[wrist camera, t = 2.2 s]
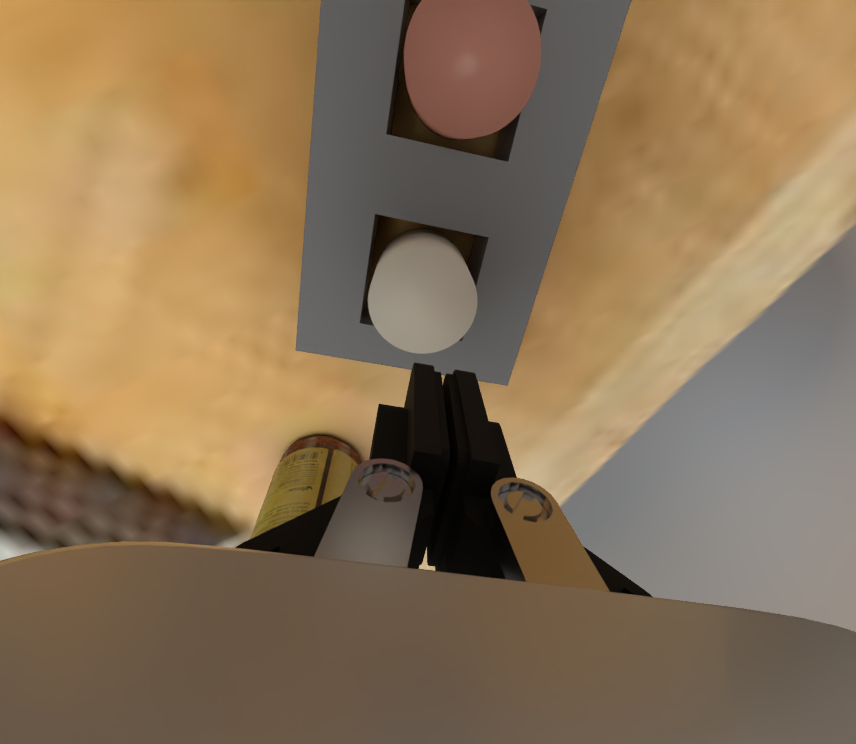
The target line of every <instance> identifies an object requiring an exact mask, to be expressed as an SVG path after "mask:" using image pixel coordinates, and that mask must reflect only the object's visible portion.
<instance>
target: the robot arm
mask: <svg viewBox="0 0 856 744" xmlns="http://www.w3.org/2000/svg"><path fill="white" fill-rule="evenodd" d="M426 547H427V562H428V565H429V566H435V571H432V570H423V569H418V568H419V565H421V564H422V562H423V558H424V554H425V551H426ZM0 744H856V632H854V631H851V630H848V629H845V628H842V627H839V626H834V625H830V624H826V623H822V622H817V621H813V620H809V619H805V618H799V617H794V616H787V615H781V614H775V613H769V612H762V611H756V610H750V609H743V608H735V607H727V606H719V605H712V604H704V603H696V602H688V601H680V600H671V599H664V598H655V597H652V596H651V595H650V594H649V593H647V592H646V591H645V590H644V589H642V588H641V587H639V586H638V585H637V584H635V583H634V582H632V581H631V580H629V579H628V578H627V577H625V576H624V575H623V574H621V573H620V572H618V571H617V570H616V569H614V568H613V567H611V566H610V565H609V564H607V563H606V562H604V561H603V560H602V559H600V558H599V557H597V556H596V555H595V554H593V553H592V552H591V551H589V550H588V549H586V548H585V547H583V546H582V544H581V542H580V540H579V539H578V537H577V535H576V534H575V532H574V530H573V529H572V527H571V525H570V523H569V522H568V520H567V519H566V517H565V515H564V514H563V512H562V510H561V508H560V507H559V505H558V503H557V502H556V500H555V499H554V498H553V497H552V495H551V494H550V493H548V492H547V491H546V490H545V489H544V488H542V487H540V486H539V485H537V484H535V483H533V482H530V481H528V480H525V479H520V478H517V477H516V474H515V471H514V467H513V464H512V461H511V458H510V455H509V452H508V448H507V445H506V442H505V439H504V436H503V432H502V429H501V426H500V424H499V423H496V422H489V421H488V418H487V414H486V410H485V407H484V403H483V399H482V396H481V392H480V389H479V385H478V381H477V378H476V374H475V373H473V372H467V371H462V370H456V369H455V370H454V372H453V374H448V373H446V375H445V378H444V382H443V386H442V377H441V372H436V371H435V370H434V366H433V365H427V364H421V363H415V362H414V364H413V367H412V372H411V377H410V382H409V387H408V391H407V396H406V401H405V406H404V408H402V407H396V406H389V405H383V404H379V406H378V412H377V417H376V423H375V429H374V435H373V440H372V446H371V453H370V459H369V460H368V461H365V462H363V463H361V464H360V465H358V466H356V468H355V469H354V470H353V472H352V473H351V475H350V478H349V480H348V482H347V484H346V487H345V489H344V491H343V493H342V495H341V496H339V497H337V498H335V499H333V500H331V501H329V502H327V503H325V504H322V505H320V506H318V507H316V508H314V509H312V510H310V511H308V512H306V513H304V514H302V515H300V516H298V517H295V518H293V519H291V520H289V521H287V522H285V523H283V524H281V525H279V526H277V527H275V528H273V529H271V530H269V531H266V532H264V533H262V534H260V535H258V536H256V537H254V538H252V539H250V540H248V541H246V542H244V543H242V544H240V545H239V546H237V547H236V548H230V547H218V546H206V545H194V544H181V543H169V542H112V543H97V544H83V545H76V546H70V547H64V548H58V549H51V550H45V551H39V552H33V553H29V554H25V555H21V556H17V557H13V558H9V559H5V560H2V561H0Z"/></svg>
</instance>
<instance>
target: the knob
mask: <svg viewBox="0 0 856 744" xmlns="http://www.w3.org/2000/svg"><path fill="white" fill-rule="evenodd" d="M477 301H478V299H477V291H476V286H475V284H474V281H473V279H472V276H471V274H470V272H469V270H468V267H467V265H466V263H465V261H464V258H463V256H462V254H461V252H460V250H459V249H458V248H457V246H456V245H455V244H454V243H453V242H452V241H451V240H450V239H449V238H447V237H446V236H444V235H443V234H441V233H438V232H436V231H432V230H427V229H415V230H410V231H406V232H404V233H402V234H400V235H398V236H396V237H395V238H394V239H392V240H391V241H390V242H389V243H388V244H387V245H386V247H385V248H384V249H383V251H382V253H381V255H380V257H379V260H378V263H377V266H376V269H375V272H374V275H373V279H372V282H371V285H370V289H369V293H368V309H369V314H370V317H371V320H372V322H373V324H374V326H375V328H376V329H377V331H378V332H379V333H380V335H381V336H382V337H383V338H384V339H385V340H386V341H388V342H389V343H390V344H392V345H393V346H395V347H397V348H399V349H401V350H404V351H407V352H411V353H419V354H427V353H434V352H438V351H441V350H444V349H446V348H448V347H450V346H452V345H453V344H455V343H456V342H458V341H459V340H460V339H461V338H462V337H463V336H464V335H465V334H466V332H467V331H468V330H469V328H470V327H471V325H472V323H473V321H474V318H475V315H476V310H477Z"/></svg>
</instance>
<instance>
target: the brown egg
mask: <svg viewBox="0 0 856 744" xmlns="http://www.w3.org/2000/svg"><path fill="white" fill-rule="evenodd" d="M540 65H541V37H540V31H539V26H538V22H537V19H536V17H535V14H534V11H533V10H532V8H531V6H530V4H529V2H528V0H421V2H420V3H419V5H418V7H417V8H416V10H415V12H414V14H413V16H412V18H411V21H410V24H409V27H408V30H407V34H406V39H405V45H404V69H405V78H406V86H407V93H408V97H409V100H410V103H411V106H412V108H413V110H414V112H415V114H416V115H417V117H418V118H419V120H420V121H421V122H422V123H423V124H424V125H425V126H426V127H427V128H428V129H429V130H430V131H432V132H433V133H435V134H437V135H439V136H441V137H444V138H447V139H453V140H464V139H470V138H476V137H482V136H486V135H489V134H492V133H494V132H496V131H498V130H500V129H501V128H503V127H505V126H506V125H507V124H509V123H510V122H511V121H512V120H513V119H514V118H515V117H516V116H517V115H518V114H519V113H520V112H521V110H522V109H523V108H524V106H525V105H526V103H527V102H528V100H529V98H530V97H531V94H532V92H533V90H534V88H535V85H536V82H537V79H538V75H539V70H540Z"/></svg>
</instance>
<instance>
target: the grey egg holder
mask: <svg viewBox="0 0 856 744" xmlns="http://www.w3.org/2000/svg"><path fill="white" fill-rule="evenodd" d="M410 2H411V3H414V4H418V5H419V3H420V2H421V0H321V9H320V23H319V37H318V50H317V64H316V78H315V92H314V105H313V119H312V133H311V147H310V160H309V174H308V188H307V201H306V215H305V229H304V243H303V256H302V270H301V284H300V298H299V311H298V325H297V339H296V351H302V352H308V353H314V354H320V355H326V356H332V357H338V358H344V359H350V360H356V361H362V362H368V363H374V364H380V365H386V366H392V367H398V368H404V369H410V370H412V367H413V364H414V362H415V363H421V364H427V365H433V366H434V370H435V371H436V372H441V375H446V373H448V374H453V372H454V370H455V369H456V370H462V371H467V372H473V373H475V374H476V378H477V381H482V382H488V383H494V384H500V385H506V386H507V385H508V382H509V379H510V376H511V373H512V370H513V367H514V364H515V361H516V357H517V354H518V351H519V348H520V345H521V342H522V339H523V336H524V333H525V329H526V326H527V323H528V320H529V317H530V314H531V311H532V308H533V305H534V301H535V298H536V295H537V292H538V289H539V286H540V283H541V280H542V277H543V273H544V270H545V267H546V264H547V261H548V258H549V255H550V252H551V249H552V245H553V242H554V239H555V236H556V233H557V230H558V227H559V224H560V221H561V217H562V214H563V211H564V208H565V205H566V202H567V199H568V196H569V193H570V189H571V186H572V183H573V180H574V177H575V174H576V171H577V168H578V165H579V161H580V158H581V155H582V152H583V149H584V146H585V143H586V140H587V137H588V133H589V130H590V127H591V124H592V121H593V118H594V115H595V112H596V109H597V105H598V102H599V99H600V96H601V93H602V90H603V87H604V84H605V81H606V77H607V74H608V71H609V68H610V65H611V62H612V59H613V56H614V53H615V49H616V46H617V43H618V40H619V37H620V34H621V31H622V28H623V25H624V21H625V18H626V15H627V12H628V9H629V6H630V3H631V0H528V2H529V4H530V6H531V8H532V10H533V11H534V14H535V17H536V19H537V22H538V26H539V31H540V37H541V65H540V70H539V75H538V79H537V82H536V85H535V88H534V90H533V92H532V94H531V97H530V98H529V100H528V102H527V103H526V105H525V106H524V108H523V109H522V110H521V112H520V113H519V114H518V115H517V116H516V117H515V118H514V119H513V120H512V121H511V122H510V123H509V124H507V125H506V126H505V127H503V128H502V129H501V133H500V137H499V141H498V145H497V149H496V153H495V157H494V159H493V158H489V157H485V156H480V155H476V154H471V153H467V152H463V151H458V150H454V149H449V148H445V147H441V146H436V145H432V144H427V143H423V142H419V141H414V140H410V139H406V138H401V137H397V136H392V135H391V129H392V122H393V115H394V108H395V101H396V94H397V87H398V80H399V73H400V66H401V59H402V52H403V45H404V38H405V32H406V25H407V18H408V11H409V4H410ZM379 215H382V216H387V217H392V218H397V219H402V220H406V221H411V222H416V223H421V224H426V225H431V226H436V227H440V228H445V229H450V230H455V231H460V232H465V233H470V234H474V235H476V236H475V240H474V244H473V248H472V252H471V256H470V261H469V265H468V270H469V272H470V274H471V276H472V279H473V281H474V284H475V286H476V291H477V299H478V301H477V310H476V315H475V318H474V321H473V323H472V325H471V327H470V328H469V330H468V331H467V332H466V334H465V335H464V336H463V337H462V338H461V339H460V340H459V341H458V342H456V343H455V344H453V345H452V346H450V347H448V348H446V349H444V350H441V351H438V352H434V353H427V354H419V353H411V352H407V351H404V350H401V349H399V348H397V347H395V346H393V345H392V344H390V343H389V342H388V341H386V340H385V339H384V338H383V337H382V336H381V335H380V333H379V332H378V331H377V329H376V328H375V326H374V324H373V322H372V320H371V317H370V314H369V309H368V300H367V295H368V288H369V281H370V274H371V268H372V261H373V254H374V247H375V240H376V233H377V226H378V219H379Z"/></svg>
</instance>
